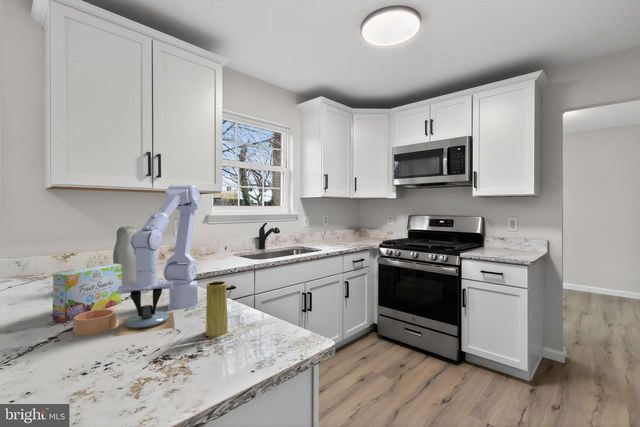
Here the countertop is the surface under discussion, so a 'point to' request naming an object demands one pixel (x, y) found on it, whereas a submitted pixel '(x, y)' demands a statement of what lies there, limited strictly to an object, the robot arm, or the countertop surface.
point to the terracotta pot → (94, 321)
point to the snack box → (85, 290)
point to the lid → (146, 318)
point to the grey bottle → (125, 255)
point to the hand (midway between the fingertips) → (146, 314)
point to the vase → (216, 309)
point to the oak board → (127, 330)
